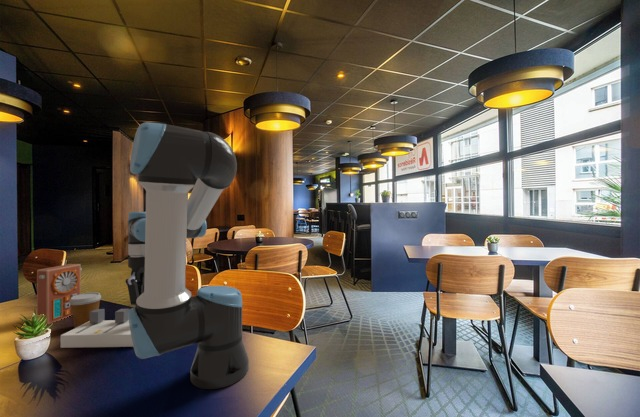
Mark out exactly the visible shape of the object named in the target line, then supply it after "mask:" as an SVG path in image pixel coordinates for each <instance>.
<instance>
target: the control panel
mask: <svg viewBox="0 0 640 417" xmlns="http://www.w3.org/2000/svg"><path fill="white" fill-rule="evenodd" d="M81 266H82V265H81V263H69V264H63V265H57V266H52V267H46V268H41V269H40V268H39V269H37V271H36V316H37V315H40V314H44V315H46V316H47V324H48V325H51V324H53V323H52V322H54V323H56V321H57V322H59V321H62V320H64V318H65V319H68V318H70V317H69V316H71V315H72V309H71V305H70V303H69V301H70V299H71V297H73V296H76V295H79V294H82V293H81V291H82V290H81V286H82V285H81V284H82V283H81V280H82V279H81V275H82V274H81V272H82V270H83V268H82V267H81ZM67 317H68V318H67ZM71 317H72V316H71ZM61 319H62V320H61Z"/></svg>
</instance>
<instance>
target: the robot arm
mask: <svg viewBox="0 0 640 417" xmlns="http://www.w3.org/2000/svg"><path fill="white" fill-rule="evenodd" d="M134 135H135V136H134V137H133V138H134V139H133V141H132V142H133V143H132V146H131V147H132V148H131V153H130V160H129V161H130V165H129V171H130V173H131V174H133V175H135V176H136V175H137V176H138V177H137V178H138V179H137V182H138V184H139V185H140V186H141V187H143V189H144V190H145V211H131V212H129V213H128V217H127V218H128V219H127V224H128V225H127V231H128V232H127V234H128V244H127V245H128V247H127V249H128V257H127V258H128V259H127V266H128V268H129V269H131V272H130V277H129V278H126V279H125V284H126V286H127V289H128V295H129V302H130V305H131V306H134V307H131V308H129V311H128V319H129V326H130V331H131V337H132V342H133V346H134V347H133V350H134V353H135V355H136V357H137V358H139V359H141V360H145V359H148V358H152V357H156V356H157V357H159V356H161V355H162V354H166V353H170V352H173V351H175V350H180V349H181V348H185V347H188V346H189V347H190V346H192V345H195V344H197V346H196V347H197V348H196V352H195V355H194V357H193V361H192V364H191V367H190V372H189V374H190V377H189V379H190V382H191V384H192V385H193V386H194V387H195V388H199V389H203V390H217V389H222V388H226V387H229V386H232V385H233V384H236V383H237V382H239V381H240V380H242V379H243V378H244V377H245V376H246V375H247V373H248V372H249V366H250V365H249V364H250V363H249V355H248V352H247V351H246V347H245V344H244V342H243V306H244V305H243V296H242V292H241V291H240V290H239V288H236V287H231V286H226V285H207V286H202V287H200V288H198V289H197V292H196V295H194V296H192V291H190V290H189V289H187V287H186V269H187V268H186V267H187V266H186V265H187V239H196V238H202V237H205V235H206V233H207V228H208V225H207V224H208V223H207V218H208V216H209V214H210V213H211V211H212V209H213V207H214V206H215V204H216V203H217V201H218V200H219V198H220V196H221V195H222V193H223V191H224V190H225V189H228V188H229V187H230V186H231V184H233V182H234V180H235V178H236V175H237V170H238V162H237V158H236V154H235V152H234V151H233V150H234V149H233V148H232V146H231V145H230V144H229V143H228V142H227V141H226V140H225V139H224V138H223V137H221V136H220V135H218V134H216V133H213V132H209V131H202V130H198V129H193V128H188V127H183V126H177V125H172V124H167V123H161V122H160V123H159V122H149V121H146V122H143V123H141V124H139V126H138V127H137V129H136V132H135V134H134ZM190 191H191V193H190V195H189V192H190ZM188 195H189V196H188Z"/></svg>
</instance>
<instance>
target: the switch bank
mask: <svg viewBox="0 0 640 417" xmlns="http://www.w3.org/2000/svg"><path fill="white" fill-rule="evenodd" d="M121 347H123V348H126V347H131V348H134V346H133V342H132V337H131V331H130V326H129V320H128V321H126V322H124V323H115V319H113V320H112V319H109V320H106V319H105V320H103V321H101V322H99V323H90V321H89V322H87V323H85V324H83V325H81V326H79V327H77V328H75V327H74V328H73V329H71V330H69V331H66V332H64V333H62V334H60V348H61V349H62V348H63V349H65V348H121Z"/></svg>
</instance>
